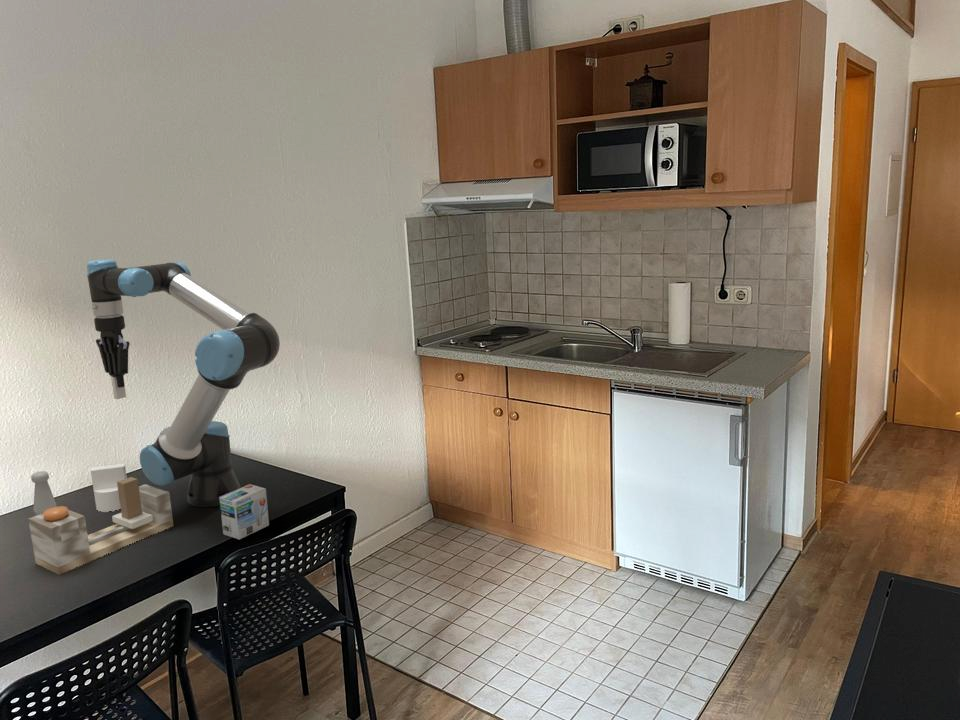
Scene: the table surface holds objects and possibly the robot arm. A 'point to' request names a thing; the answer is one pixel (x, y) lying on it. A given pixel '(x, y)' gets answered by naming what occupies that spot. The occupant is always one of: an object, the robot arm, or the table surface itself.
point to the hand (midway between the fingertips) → (120, 397)
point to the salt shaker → (42, 493)
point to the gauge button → (55, 513)
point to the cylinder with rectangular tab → (107, 486)
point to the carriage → (130, 505)
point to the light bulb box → (244, 511)
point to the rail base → (94, 534)
